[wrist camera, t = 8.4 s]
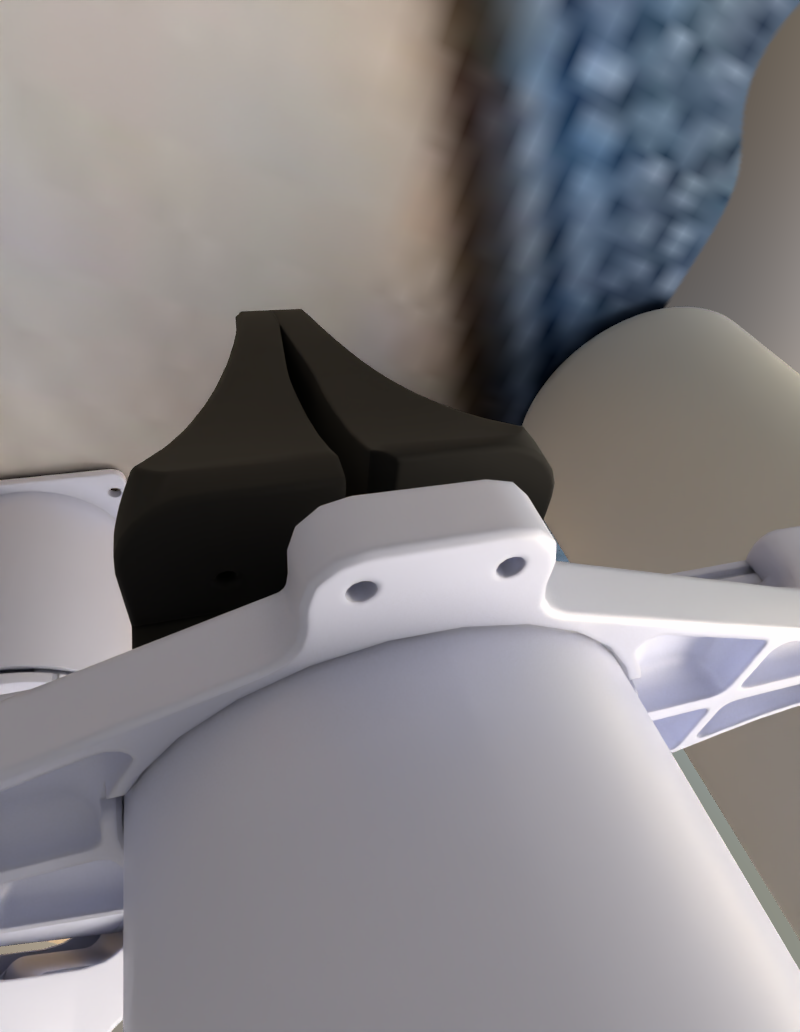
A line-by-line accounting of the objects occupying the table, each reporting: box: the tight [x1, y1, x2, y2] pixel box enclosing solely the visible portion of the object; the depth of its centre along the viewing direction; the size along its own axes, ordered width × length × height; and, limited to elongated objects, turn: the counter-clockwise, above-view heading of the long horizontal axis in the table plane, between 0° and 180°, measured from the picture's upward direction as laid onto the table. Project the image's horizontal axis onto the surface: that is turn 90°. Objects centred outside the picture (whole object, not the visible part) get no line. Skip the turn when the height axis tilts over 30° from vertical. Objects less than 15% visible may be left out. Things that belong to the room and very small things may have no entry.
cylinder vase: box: [522, 306, 800, 940], centre depth 25 cm, size 12×12×25 cm
